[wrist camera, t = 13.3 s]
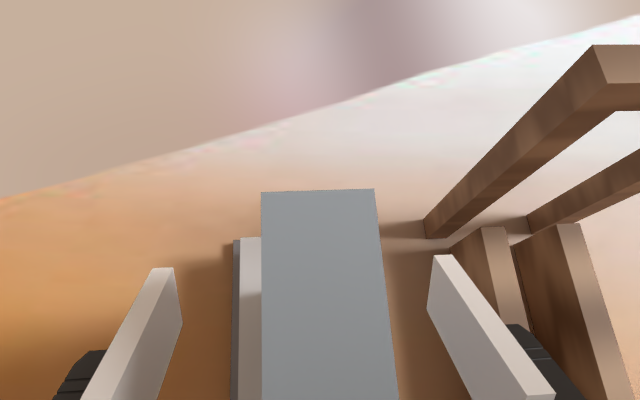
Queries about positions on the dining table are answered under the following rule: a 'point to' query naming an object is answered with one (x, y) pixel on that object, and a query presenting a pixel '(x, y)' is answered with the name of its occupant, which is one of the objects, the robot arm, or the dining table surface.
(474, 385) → the robot arm
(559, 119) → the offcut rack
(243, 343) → the slot stand
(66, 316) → the dining table surface
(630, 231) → the dining table surface
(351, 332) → the slate board
